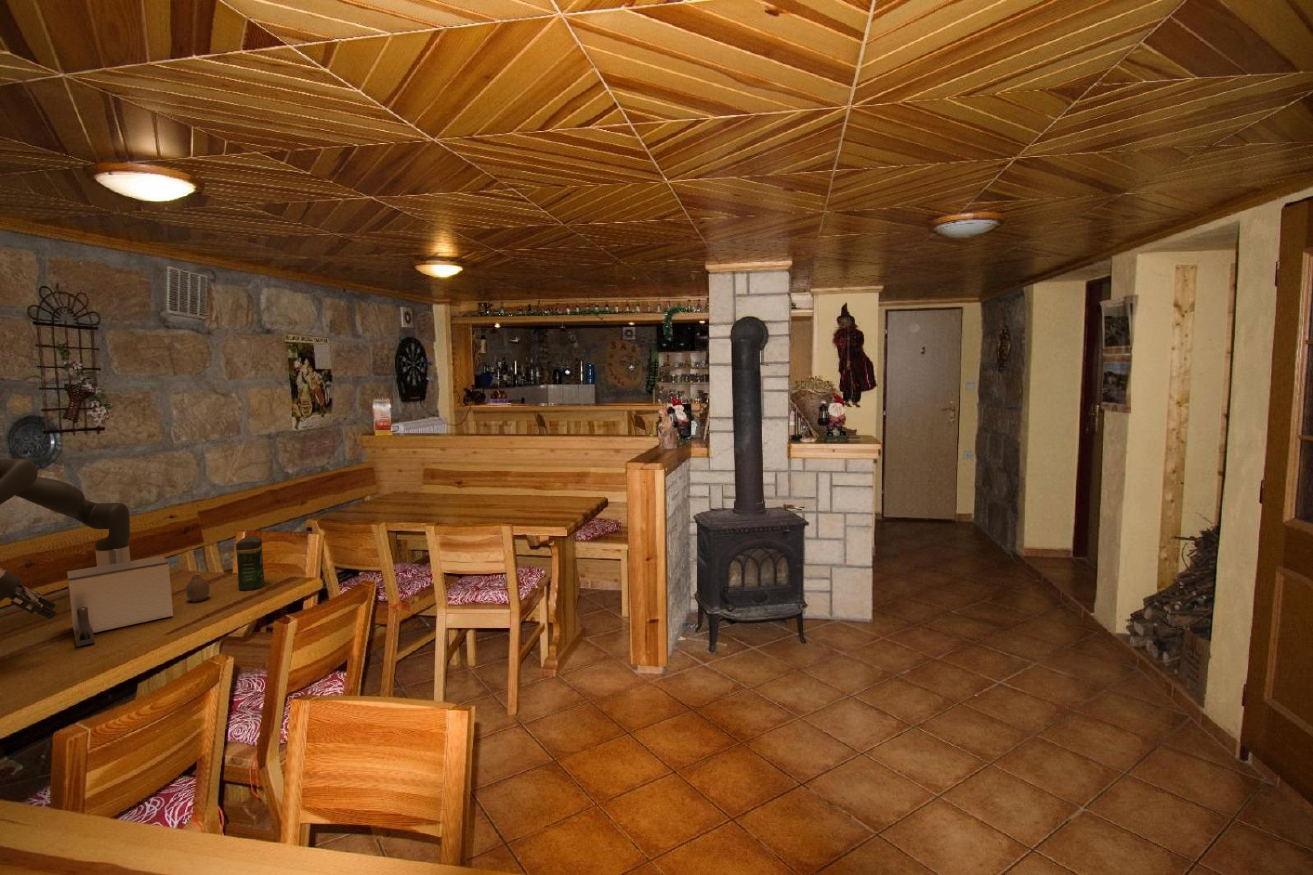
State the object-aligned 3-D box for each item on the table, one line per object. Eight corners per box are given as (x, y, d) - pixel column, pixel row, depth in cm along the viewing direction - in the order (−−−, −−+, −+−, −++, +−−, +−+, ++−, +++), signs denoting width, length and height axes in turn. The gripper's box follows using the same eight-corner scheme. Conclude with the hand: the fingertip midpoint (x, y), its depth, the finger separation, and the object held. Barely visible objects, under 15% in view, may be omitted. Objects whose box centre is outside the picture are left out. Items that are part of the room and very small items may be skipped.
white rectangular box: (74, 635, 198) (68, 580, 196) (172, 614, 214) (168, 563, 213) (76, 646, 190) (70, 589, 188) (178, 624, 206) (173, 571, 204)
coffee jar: (261, 589, 240) (258, 539, 238) (236, 592, 237) (232, 541, 236) (267, 581, 249) (263, 533, 247) (242, 584, 246) (239, 535, 245)
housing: (73, 627, 205) (67, 571, 203) (167, 607, 222) (163, 555, 220) (74, 636, 198) (68, 578, 196) (172, 615, 215) (167, 561, 213)
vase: (192, 604, 225) (190, 579, 224) (182, 601, 228) (180, 576, 227) (214, 598, 231) (212, 574, 230) (204, 595, 234) (202, 571, 233)
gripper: (3, 576, 174) (66, 606, 183) (5, 564, 184) (64, 594, 193) (-23, 600, 171) (42, 630, 180) (-20, 587, 181) (41, 616, 190)
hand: (53, 611), depth 187 cm, fingers open, 8 cm apart
